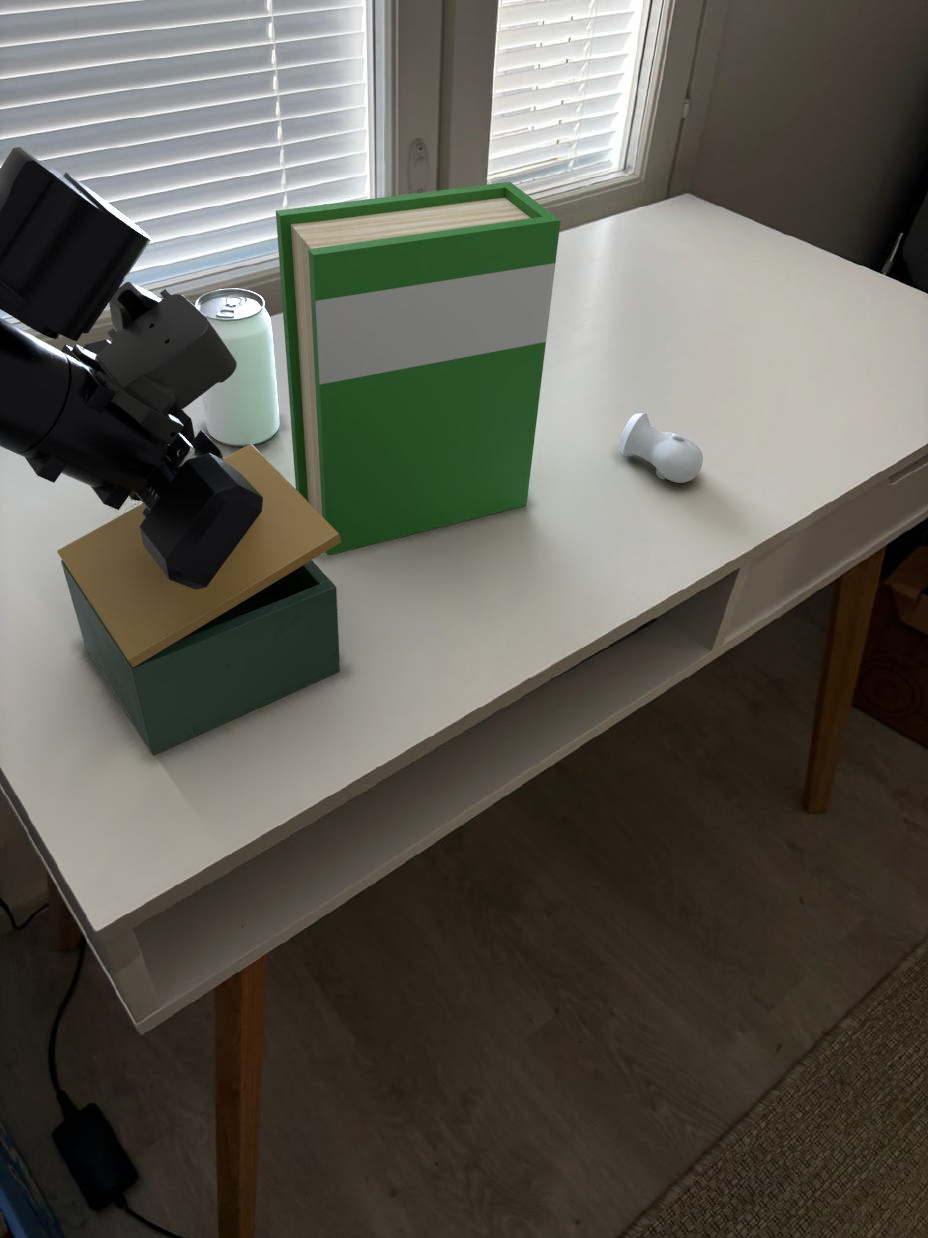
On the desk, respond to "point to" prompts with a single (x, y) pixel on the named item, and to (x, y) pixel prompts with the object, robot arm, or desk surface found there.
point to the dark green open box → (222, 658)
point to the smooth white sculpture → (661, 450)
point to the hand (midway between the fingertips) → (250, 506)
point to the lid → (168, 611)
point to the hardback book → (415, 355)
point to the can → (242, 369)
